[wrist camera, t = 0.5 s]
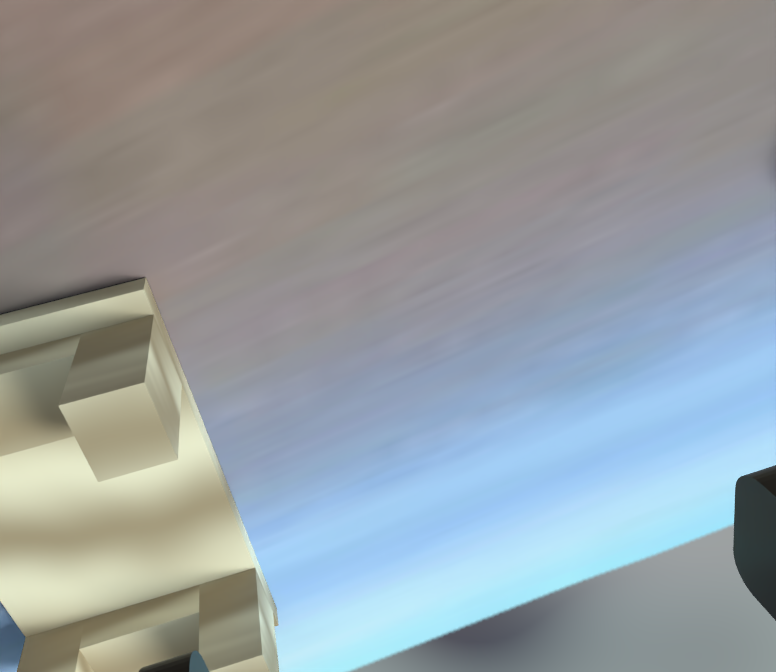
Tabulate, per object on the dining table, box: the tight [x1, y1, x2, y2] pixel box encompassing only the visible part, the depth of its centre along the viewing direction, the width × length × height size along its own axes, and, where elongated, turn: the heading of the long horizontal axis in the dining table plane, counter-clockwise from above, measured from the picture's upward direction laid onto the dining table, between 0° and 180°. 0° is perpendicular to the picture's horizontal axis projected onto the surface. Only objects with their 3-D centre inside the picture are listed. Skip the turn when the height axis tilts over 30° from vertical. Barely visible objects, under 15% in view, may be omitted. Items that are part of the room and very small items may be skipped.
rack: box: [0, 278, 279, 672], centre depth 27 cm, size 18×10×6 cm, turn 10°
